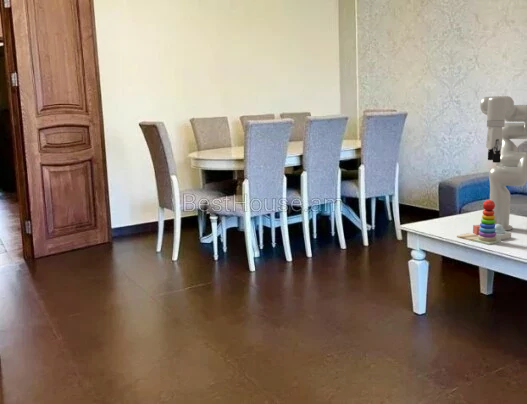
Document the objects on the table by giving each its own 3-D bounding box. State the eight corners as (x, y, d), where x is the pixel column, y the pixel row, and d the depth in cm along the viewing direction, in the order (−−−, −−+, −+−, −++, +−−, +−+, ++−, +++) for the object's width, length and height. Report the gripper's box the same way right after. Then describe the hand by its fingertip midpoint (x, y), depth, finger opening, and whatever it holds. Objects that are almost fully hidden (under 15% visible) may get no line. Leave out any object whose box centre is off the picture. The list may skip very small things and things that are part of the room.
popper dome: (488, 234, 259) (488, 223, 258) (495, 232, 262) (496, 222, 261) (499, 237, 254) (499, 226, 253) (507, 235, 257) (507, 224, 256)
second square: (472, 241, 253) (472, 239, 253) (484, 238, 257) (484, 236, 257) (488, 244, 246) (488, 243, 246) (500, 241, 250) (500, 240, 250)
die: (472, 232, 268) (473, 224, 267) (480, 232, 268) (481, 223, 267) (476, 234, 264) (477, 226, 263) (484, 234, 264) (485, 225, 263)
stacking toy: (474, 239, 253) (475, 199, 250) (485, 236, 257) (487, 197, 254) (488, 242, 246) (490, 202, 243) (500, 240, 250) (502, 200, 247)
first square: (456, 237, 260) (456, 235, 260) (468, 234, 265) (468, 233, 265) (471, 240, 253) (472, 239, 253) (483, 238, 258) (483, 236, 258)
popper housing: (483, 237, 259) (484, 231, 259) (494, 234, 264) (495, 229, 263) (499, 240, 252) (500, 235, 252) (511, 237, 257) (511, 232, 256)
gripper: (482, 123, 259) (481, 159, 262) (491, 125, 242) (489, 163, 245) (499, 123, 257) (497, 159, 261) (509, 124, 241) (507, 163, 244)
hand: (493, 161), depth 253 cm, fingers open, 9 cm apart
